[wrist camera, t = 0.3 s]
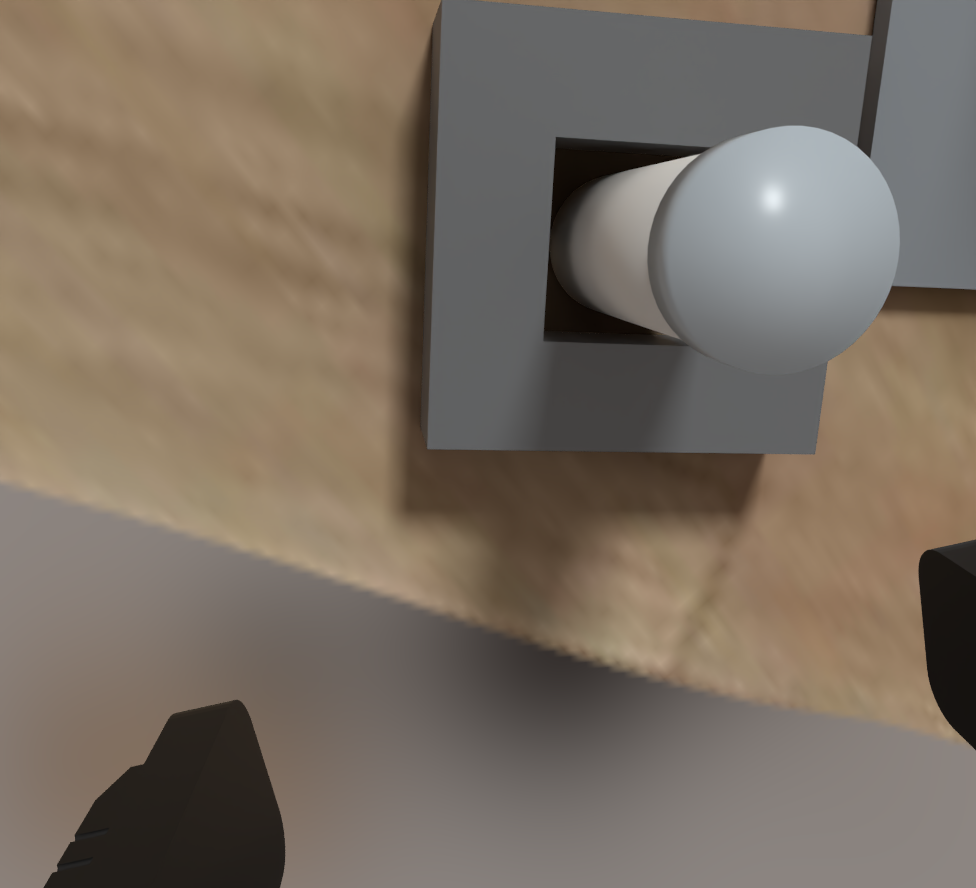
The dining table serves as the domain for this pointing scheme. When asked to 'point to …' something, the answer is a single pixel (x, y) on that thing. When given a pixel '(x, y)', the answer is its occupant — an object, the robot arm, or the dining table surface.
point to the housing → (527, 216)
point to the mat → (926, 134)
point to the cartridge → (738, 248)
